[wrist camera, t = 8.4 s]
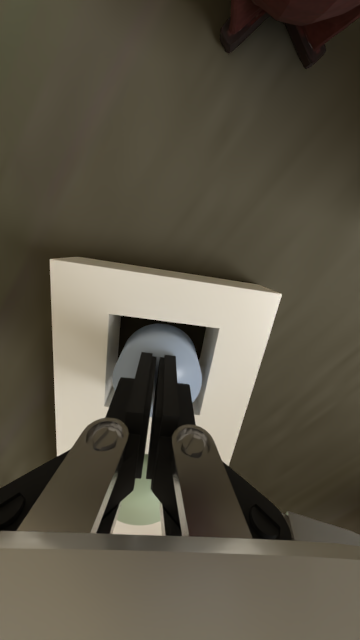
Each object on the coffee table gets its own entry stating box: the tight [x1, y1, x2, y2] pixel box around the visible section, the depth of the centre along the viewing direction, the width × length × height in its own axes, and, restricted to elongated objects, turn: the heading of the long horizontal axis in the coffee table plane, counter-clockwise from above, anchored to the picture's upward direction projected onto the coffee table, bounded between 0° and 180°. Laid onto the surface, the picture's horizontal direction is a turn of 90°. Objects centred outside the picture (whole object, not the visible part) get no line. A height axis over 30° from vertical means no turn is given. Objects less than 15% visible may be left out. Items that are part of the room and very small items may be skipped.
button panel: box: [50, 257, 282, 536], centre depth 16 cm, size 28×11×3 cm, turn 171°
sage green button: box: [117, 454, 161, 525], centre depth 14 cm, size 4×4×2 cm
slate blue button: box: [112, 324, 202, 417], centre depth 12 cm, size 4×4×2 cm
